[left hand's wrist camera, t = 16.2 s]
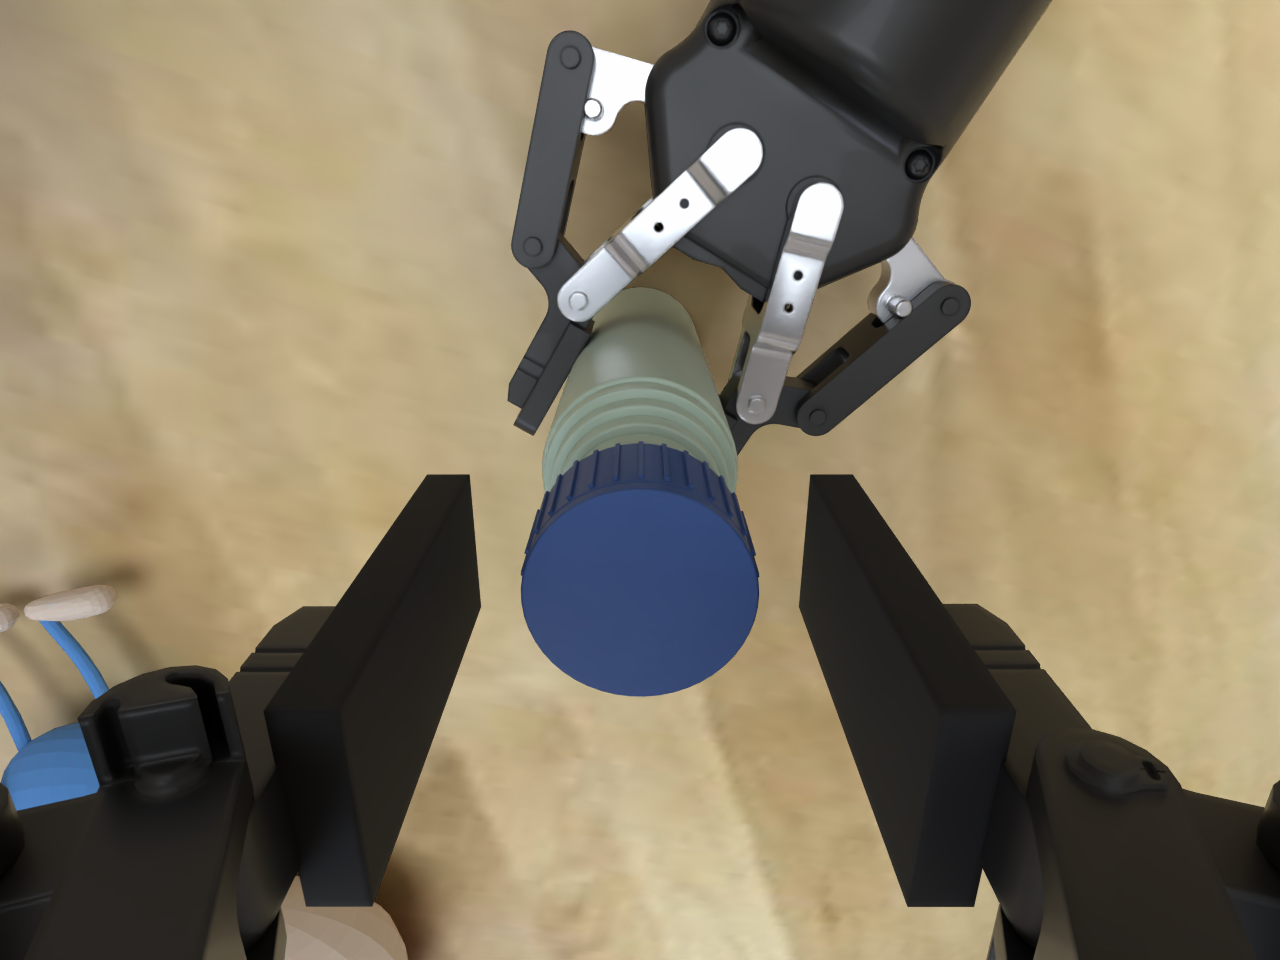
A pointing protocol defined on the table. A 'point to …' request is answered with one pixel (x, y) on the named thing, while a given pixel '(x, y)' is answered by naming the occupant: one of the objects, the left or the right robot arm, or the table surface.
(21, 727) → the toy
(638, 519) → the cap
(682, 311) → the bottle
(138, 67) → the table surface
